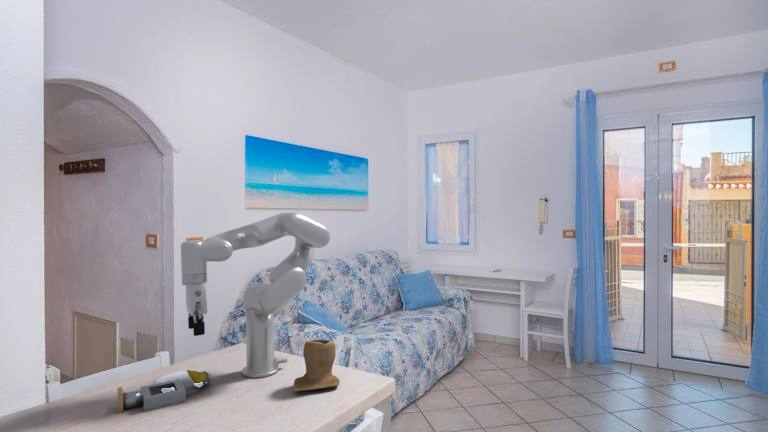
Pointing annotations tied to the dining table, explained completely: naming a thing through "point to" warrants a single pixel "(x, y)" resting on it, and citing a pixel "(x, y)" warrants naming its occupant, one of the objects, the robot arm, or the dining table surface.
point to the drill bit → (199, 376)
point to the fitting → (152, 396)
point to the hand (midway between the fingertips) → (196, 331)
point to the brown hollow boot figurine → (317, 366)
